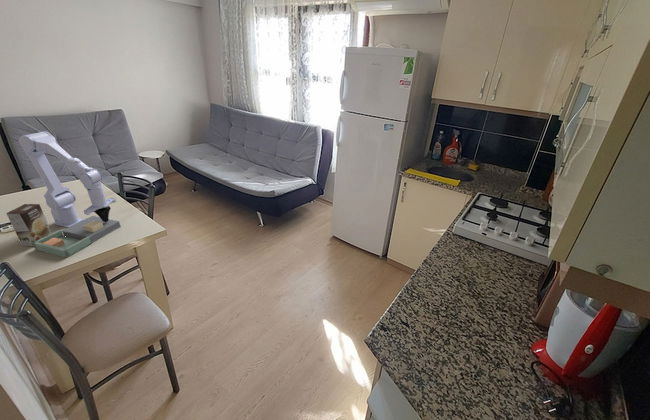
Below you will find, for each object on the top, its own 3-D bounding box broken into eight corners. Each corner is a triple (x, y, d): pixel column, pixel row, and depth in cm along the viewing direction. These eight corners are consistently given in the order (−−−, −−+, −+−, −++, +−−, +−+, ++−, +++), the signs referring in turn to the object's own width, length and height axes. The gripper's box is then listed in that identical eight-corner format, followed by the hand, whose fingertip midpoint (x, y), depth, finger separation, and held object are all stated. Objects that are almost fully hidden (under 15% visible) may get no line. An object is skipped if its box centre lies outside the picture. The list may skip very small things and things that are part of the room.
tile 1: (53, 237, 128) (55, 242, 129) (41, 243, 124) (43, 248, 125) (62, 239, 127) (64, 244, 128) (50, 245, 123) (53, 250, 124)
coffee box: (37, 246, 127) (22, 213, 119) (21, 246, 126) (5, 213, 119) (53, 234, 135) (39, 203, 128) (38, 234, 134) (23, 203, 127)
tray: (35, 249, 125) (32, 243, 123) (62, 236, 134) (59, 230, 132) (67, 257, 121) (64, 250, 120) (91, 243, 131) (89, 237, 129)
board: (64, 236, 134) (61, 230, 133) (94, 220, 147) (92, 215, 146) (92, 242, 131) (90, 237, 130) (120, 226, 144) (119, 221, 143)
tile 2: (84, 230, 134) (83, 225, 133) (95, 225, 139) (93, 220, 137) (93, 232, 133) (92, 227, 132) (103, 227, 138) (102, 222, 136)
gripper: (89, 203, 127) (98, 230, 134) (117, 191, 140) (125, 215, 146) (76, 201, 129) (86, 227, 135) (105, 188, 141) (113, 213, 148)
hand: (105, 221), depth 141 cm, fingers closed
